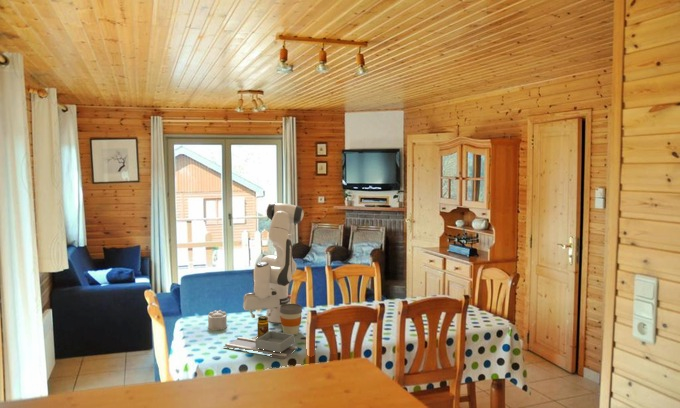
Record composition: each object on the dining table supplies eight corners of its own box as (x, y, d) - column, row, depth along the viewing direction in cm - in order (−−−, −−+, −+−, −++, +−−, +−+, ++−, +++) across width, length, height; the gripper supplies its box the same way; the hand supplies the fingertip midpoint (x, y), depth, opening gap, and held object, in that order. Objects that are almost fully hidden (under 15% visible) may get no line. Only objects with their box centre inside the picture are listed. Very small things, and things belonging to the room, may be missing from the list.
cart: (270, 340, 301) (270, 330, 300) (294, 345, 295) (294, 334, 294) (255, 349, 287) (255, 339, 287) (280, 354, 282) (280, 343, 281)
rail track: (240, 338, 309) (240, 335, 309) (298, 348, 295) (298, 345, 295) (223, 348, 295) (223, 345, 295) (283, 359, 280) (283, 356, 280)
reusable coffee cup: (298, 336, 313) (298, 310, 311) (277, 335, 315) (276, 309, 314) (304, 329, 325) (304, 304, 324) (283, 327, 328) (283, 302, 326)
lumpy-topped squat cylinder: (208, 330, 322) (207, 315, 322) (208, 323, 335) (208, 308, 334) (226, 329, 324) (226, 314, 323) (226, 322, 337) (226, 308, 336)
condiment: (264, 341, 306) (264, 319, 304) (251, 338, 310) (251, 317, 308) (272, 337, 312) (272, 316, 311) (259, 334, 316) (259, 313, 315)
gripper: (245, 295, 300) (245, 320, 301) (281, 291, 310) (280, 316, 311) (241, 292, 305) (241, 317, 307) (276, 289, 315) (276, 313, 316)
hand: (261, 316), depth 309 cm, fingers open, 8 cm apart
